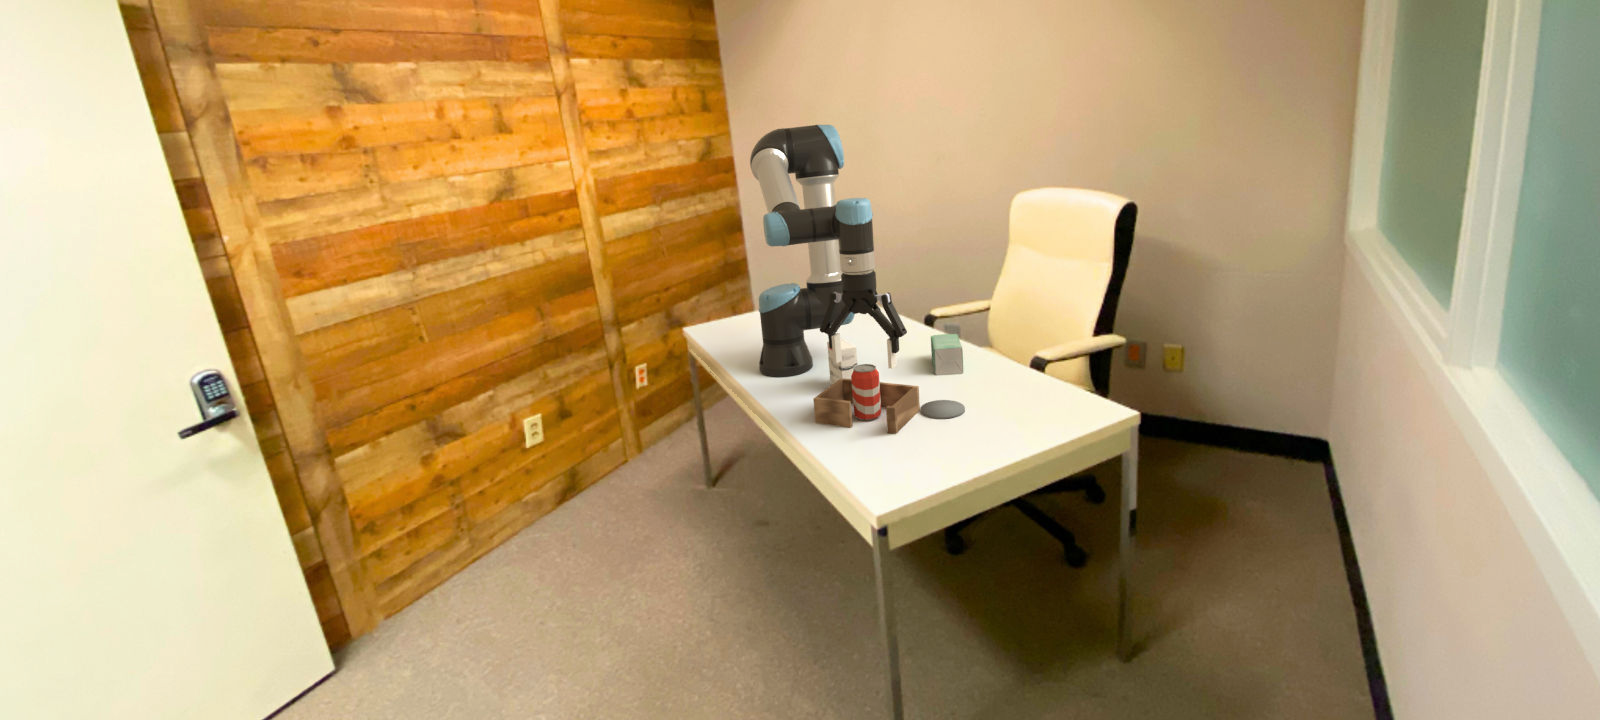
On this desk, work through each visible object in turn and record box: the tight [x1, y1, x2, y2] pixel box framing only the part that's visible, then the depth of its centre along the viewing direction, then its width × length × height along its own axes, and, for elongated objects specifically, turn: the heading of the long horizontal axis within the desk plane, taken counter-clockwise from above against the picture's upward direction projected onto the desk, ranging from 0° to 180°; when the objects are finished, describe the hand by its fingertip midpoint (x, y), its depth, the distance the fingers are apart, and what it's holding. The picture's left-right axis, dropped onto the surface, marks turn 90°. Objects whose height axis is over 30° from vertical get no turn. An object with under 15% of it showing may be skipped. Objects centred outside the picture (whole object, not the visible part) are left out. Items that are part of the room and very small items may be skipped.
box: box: [930, 333, 964, 376], centre depth 199 cm, size 7×14×8 cm, turn 175°
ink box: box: [826, 338, 858, 386], centre depth 190 cm, size 8×5×12 cm, turn 20°
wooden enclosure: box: [813, 378, 921, 435], centre depth 171 cm, size 20×14×6 cm
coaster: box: [920, 399, 966, 420], centre depth 171 cm, size 10×10×1 cm
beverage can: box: [851, 363, 882, 421], centre depth 170 cm, size 6×6×12 cm
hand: (864, 364), depth 168 cm, fingers open, 13 cm apart
